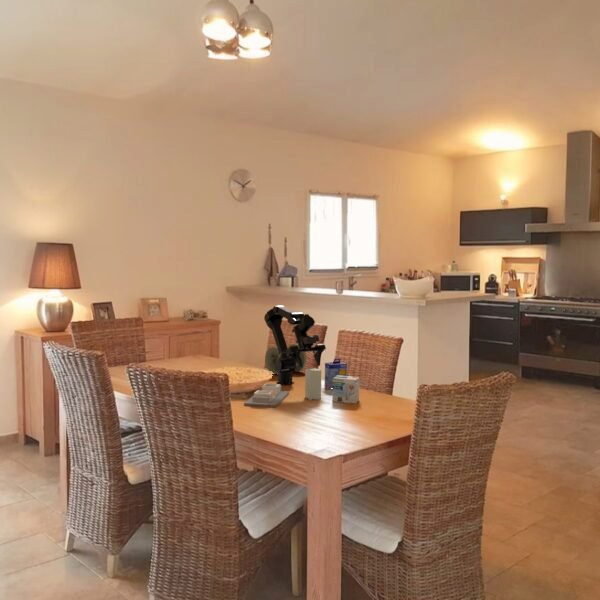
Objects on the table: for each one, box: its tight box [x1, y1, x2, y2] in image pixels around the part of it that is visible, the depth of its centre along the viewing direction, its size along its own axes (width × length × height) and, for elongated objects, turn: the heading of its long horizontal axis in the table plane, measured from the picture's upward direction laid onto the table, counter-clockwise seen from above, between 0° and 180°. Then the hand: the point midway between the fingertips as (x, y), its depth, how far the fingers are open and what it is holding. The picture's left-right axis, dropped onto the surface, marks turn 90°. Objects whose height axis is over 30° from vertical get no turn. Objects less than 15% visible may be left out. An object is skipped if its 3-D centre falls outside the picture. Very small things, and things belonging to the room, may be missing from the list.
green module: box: [304, 368, 322, 401], centre depth 284 cm, size 5×6×13 cm
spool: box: [264, 343, 307, 376], centre depth 341 cm, size 16×15×15 cm
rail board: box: [243, 383, 290, 408], centre depth 281 cm, size 26×14×5 cm, turn 169°
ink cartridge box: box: [324, 358, 348, 390], centre depth 306 cm, size 10×6×14 cm, turn 115°
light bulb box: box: [331, 375, 361, 404], centre depth 279 cm, size 11×7×11 cm, turn 68°
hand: (310, 366), depth 292 cm, fingers open, 9 cm apart
